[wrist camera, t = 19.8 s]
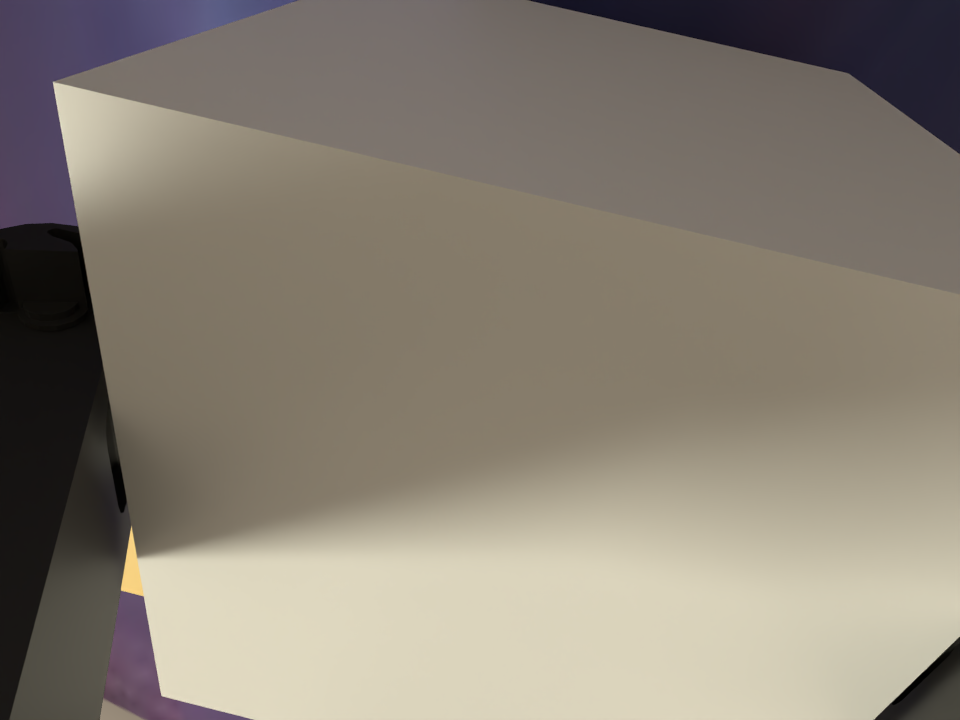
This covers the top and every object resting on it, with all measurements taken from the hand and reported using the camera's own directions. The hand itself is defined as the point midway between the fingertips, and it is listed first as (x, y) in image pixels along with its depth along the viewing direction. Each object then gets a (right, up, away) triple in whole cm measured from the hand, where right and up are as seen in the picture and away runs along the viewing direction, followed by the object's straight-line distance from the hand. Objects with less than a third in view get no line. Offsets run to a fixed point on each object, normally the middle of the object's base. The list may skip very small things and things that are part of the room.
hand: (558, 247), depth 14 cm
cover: (0, 0, +1) cm, 1 cm away
